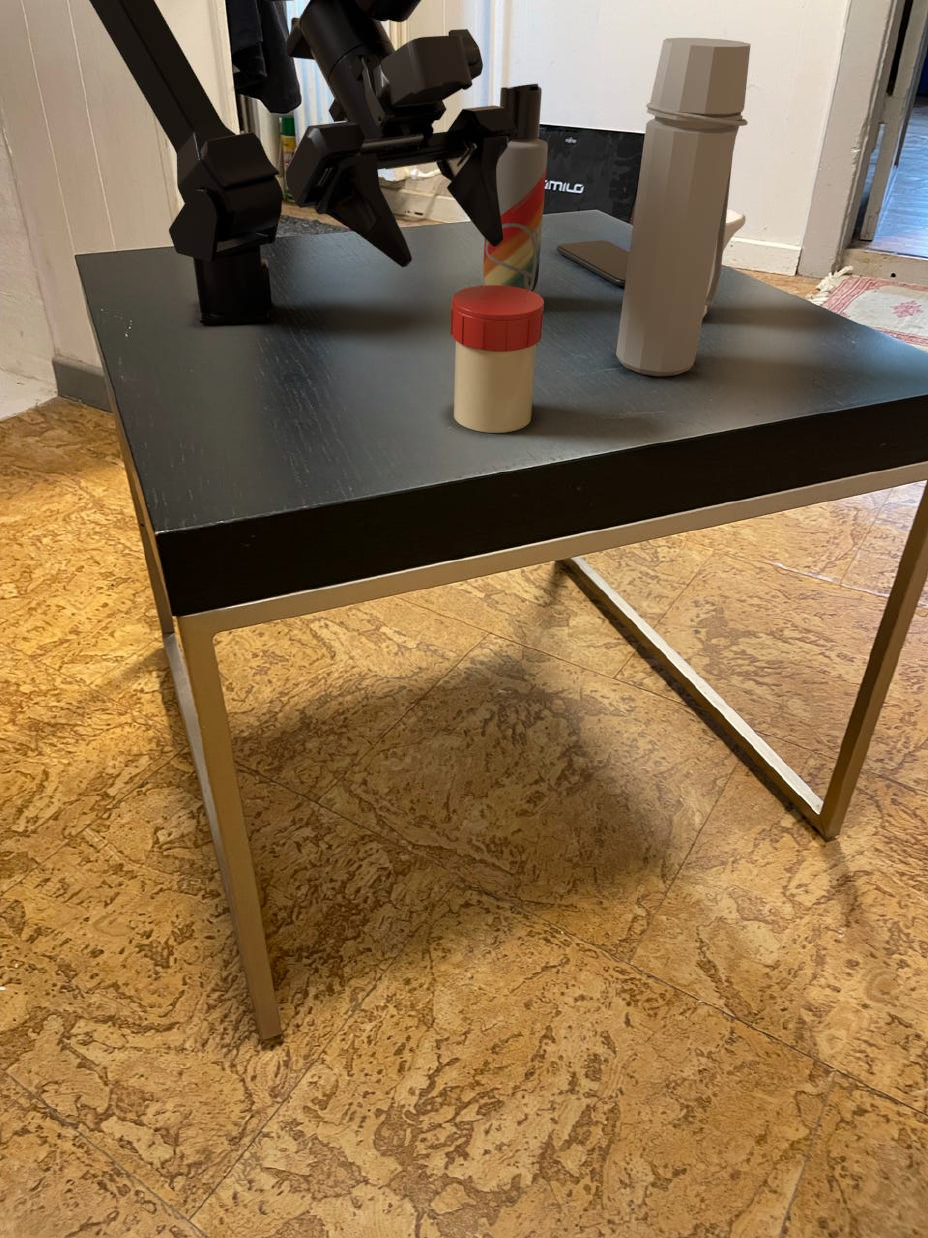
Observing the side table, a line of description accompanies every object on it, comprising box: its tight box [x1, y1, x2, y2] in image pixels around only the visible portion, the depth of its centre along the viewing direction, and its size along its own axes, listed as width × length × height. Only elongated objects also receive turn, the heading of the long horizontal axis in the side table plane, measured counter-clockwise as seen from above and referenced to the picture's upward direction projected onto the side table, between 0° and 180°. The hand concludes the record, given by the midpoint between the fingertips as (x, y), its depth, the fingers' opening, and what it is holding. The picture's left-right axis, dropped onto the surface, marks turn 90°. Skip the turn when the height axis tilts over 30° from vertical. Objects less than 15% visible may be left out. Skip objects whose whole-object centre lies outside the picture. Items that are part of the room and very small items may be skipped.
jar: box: [453, 340, 538, 434], centre depth 72 cm, size 6×6×9 cm
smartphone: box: [555, 239, 630, 288], centre depth 108 cm, size 7×1×15 cm
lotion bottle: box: [482, 83, 549, 294], centre depth 92 cm, size 6×6×20 cm
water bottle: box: [615, 37, 752, 377], centre depth 78 cm, size 9×8×25 cm
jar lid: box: [450, 284, 545, 351], centre depth 70 cm, size 7×7×3 cm
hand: (454, 253), depth 71 cm, fingers open, 9 cm apart
